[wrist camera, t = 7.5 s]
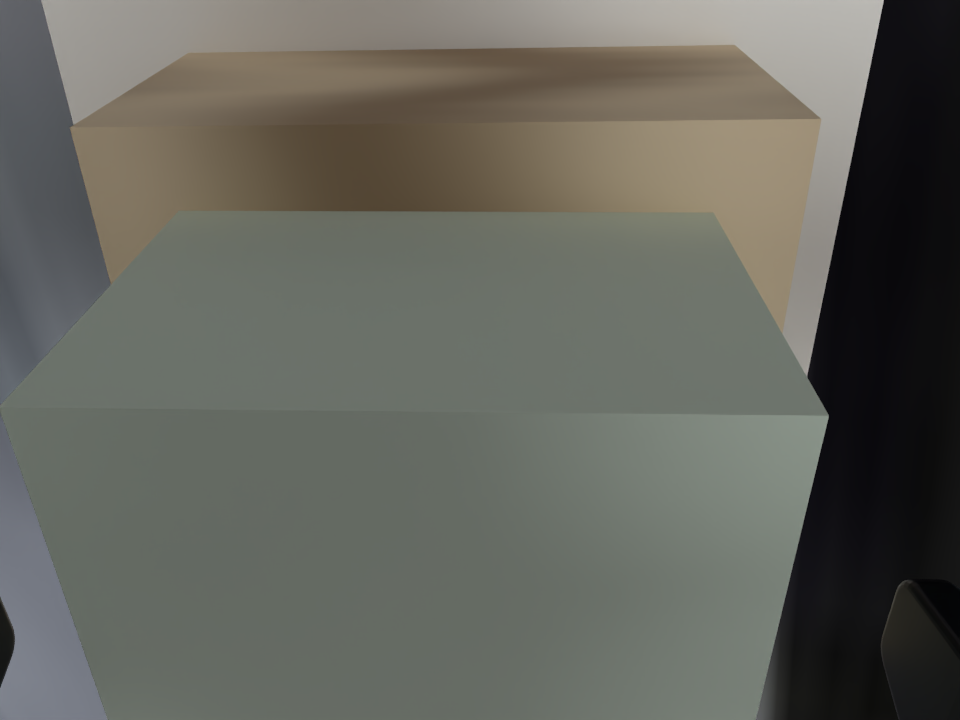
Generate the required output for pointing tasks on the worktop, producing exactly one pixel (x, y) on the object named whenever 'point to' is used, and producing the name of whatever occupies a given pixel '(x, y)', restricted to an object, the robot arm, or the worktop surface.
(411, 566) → the sage brick
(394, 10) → the baseplate
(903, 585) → the robot arm
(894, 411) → the worktop surface
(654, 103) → the wood brick
